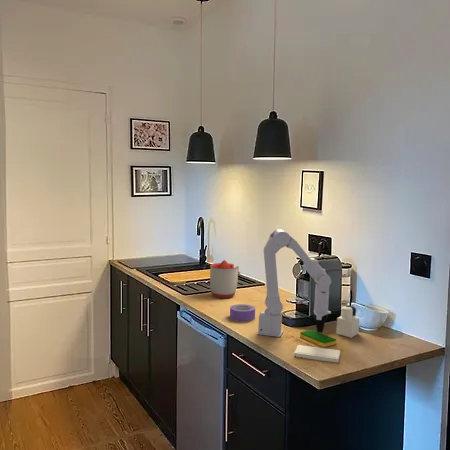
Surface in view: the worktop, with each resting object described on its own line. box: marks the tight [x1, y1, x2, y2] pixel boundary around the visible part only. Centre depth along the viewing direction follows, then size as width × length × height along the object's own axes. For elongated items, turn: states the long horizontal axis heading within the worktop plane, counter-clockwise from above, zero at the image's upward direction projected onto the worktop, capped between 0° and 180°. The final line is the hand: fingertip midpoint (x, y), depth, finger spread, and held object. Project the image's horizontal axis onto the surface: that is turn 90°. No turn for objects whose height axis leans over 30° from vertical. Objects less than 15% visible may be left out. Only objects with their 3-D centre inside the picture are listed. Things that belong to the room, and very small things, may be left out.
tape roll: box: [229, 303, 256, 322], centre depth 224 cm, size 12×12×5 cm
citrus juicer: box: [209, 259, 241, 299], centre depth 262 cm, size 16×17×20 cm
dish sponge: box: [299, 329, 337, 348], centre depth 196 cm, size 7×14×2 cm, turn 35°
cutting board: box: [293, 344, 341, 364], centre depth 179 cm, size 16×9×2 cm, turn 72°
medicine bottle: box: [335, 305, 360, 338], centre depth 204 cm, size 7×7×12 cm
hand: (319, 331), depth 203 cm, fingers closed
